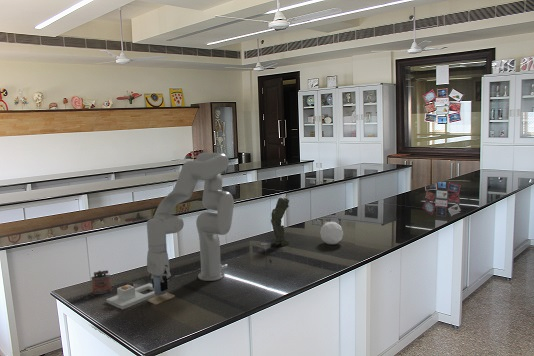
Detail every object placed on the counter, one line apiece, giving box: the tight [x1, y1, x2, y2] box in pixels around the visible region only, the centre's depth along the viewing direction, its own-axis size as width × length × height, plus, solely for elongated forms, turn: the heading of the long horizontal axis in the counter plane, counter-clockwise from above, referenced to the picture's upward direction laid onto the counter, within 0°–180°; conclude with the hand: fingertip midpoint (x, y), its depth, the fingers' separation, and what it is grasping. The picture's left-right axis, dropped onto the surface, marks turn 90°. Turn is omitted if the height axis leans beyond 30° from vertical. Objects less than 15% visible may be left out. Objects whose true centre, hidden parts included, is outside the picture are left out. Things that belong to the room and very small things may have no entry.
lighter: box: [90, 269, 113, 295], centre depth 202 cm, size 8×3×10 cm, turn 106°
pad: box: [146, 291, 176, 306], centre depth 193 cm, size 10×6×1 cm, turn 140°
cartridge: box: [153, 274, 167, 296], centre depth 192 cm, size 5×5×9 cm
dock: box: [106, 282, 158, 310], centre depth 196 cm, size 22×12×6 cm, turn 140°
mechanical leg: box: [270, 197, 290, 248], centre depth 264 cm, size 13×7×29 cm, turn 130°
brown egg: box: [121, 284, 129, 290], centre depth 192 cm, size 3×3×4 cm
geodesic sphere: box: [319, 220, 344, 245], centre depth 264 cm, size 14×14×14 cm
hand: (160, 288), depth 193 cm, fingers closed on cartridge, 4 cm apart
